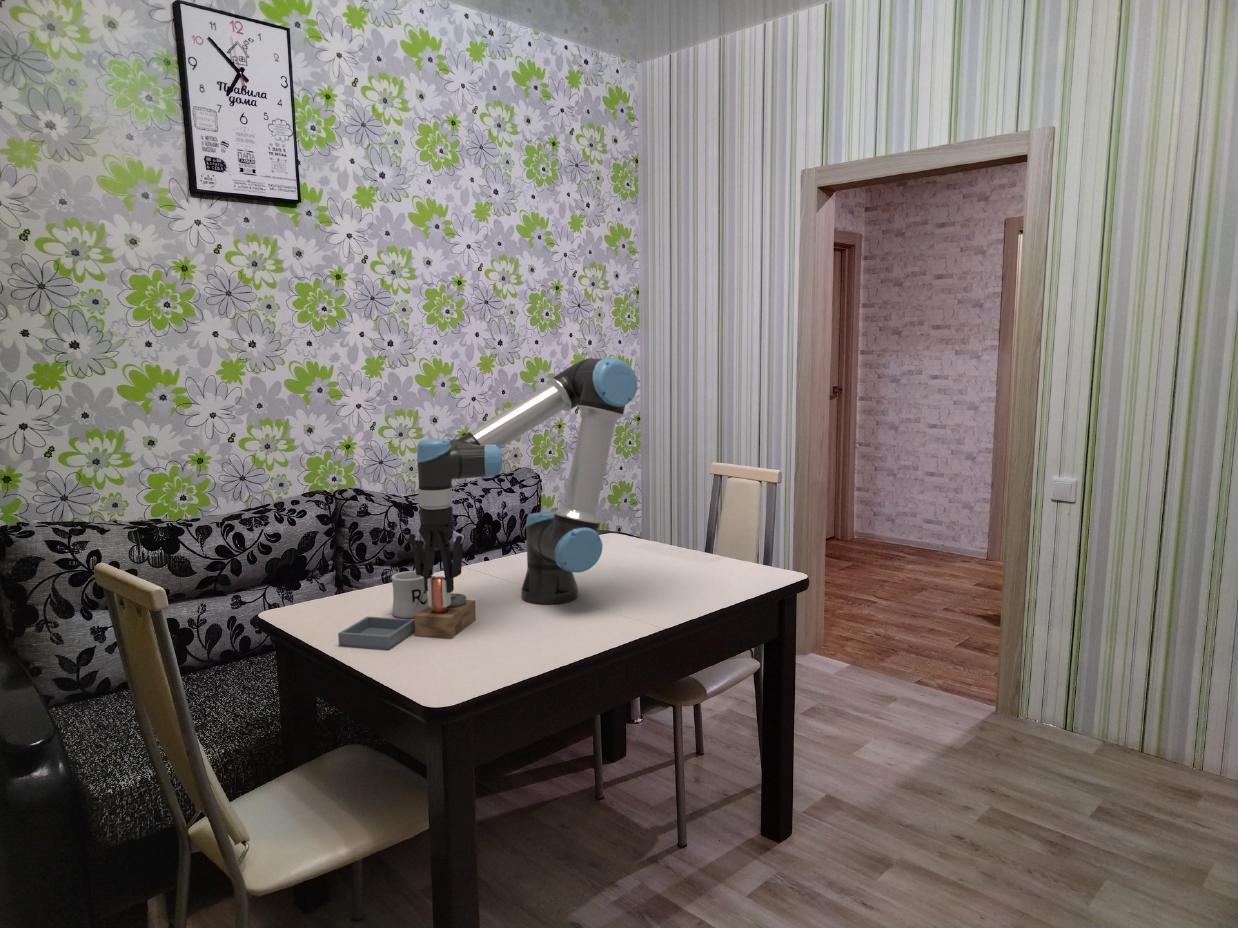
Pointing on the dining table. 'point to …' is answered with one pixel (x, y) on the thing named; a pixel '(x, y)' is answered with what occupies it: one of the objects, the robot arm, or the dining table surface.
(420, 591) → the mug
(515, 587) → the dining table surface
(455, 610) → the block
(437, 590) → the pin
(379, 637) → the tray
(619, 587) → the dining table surface
